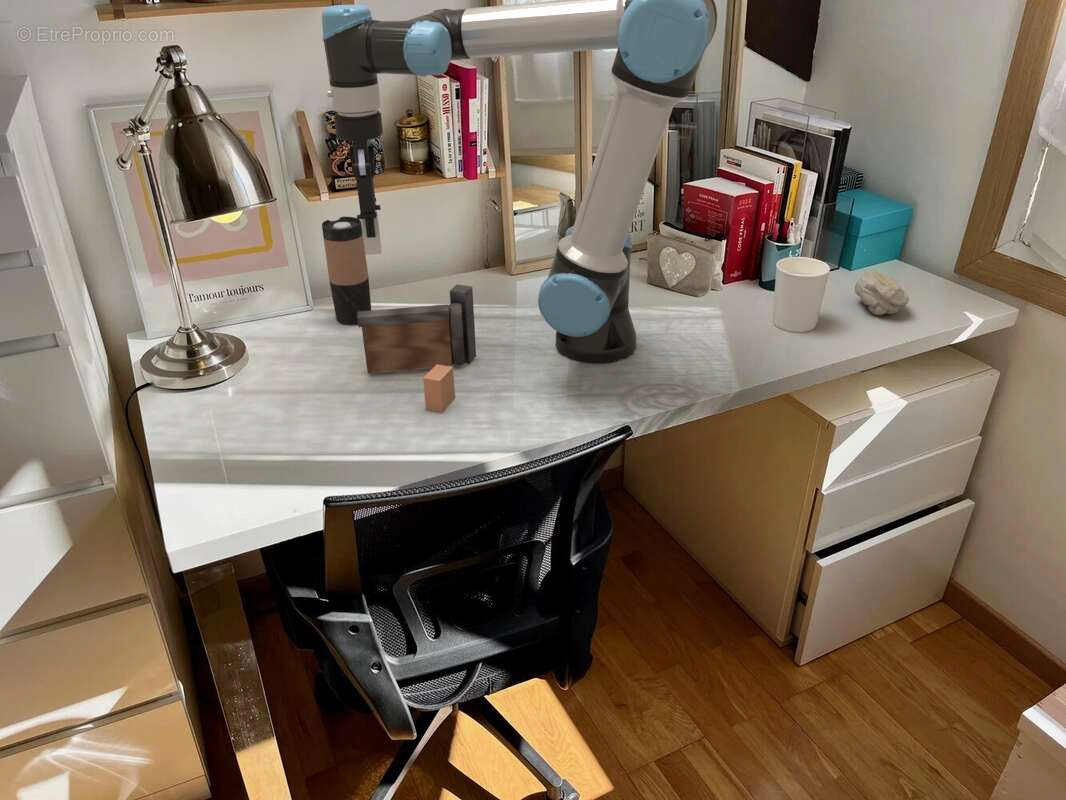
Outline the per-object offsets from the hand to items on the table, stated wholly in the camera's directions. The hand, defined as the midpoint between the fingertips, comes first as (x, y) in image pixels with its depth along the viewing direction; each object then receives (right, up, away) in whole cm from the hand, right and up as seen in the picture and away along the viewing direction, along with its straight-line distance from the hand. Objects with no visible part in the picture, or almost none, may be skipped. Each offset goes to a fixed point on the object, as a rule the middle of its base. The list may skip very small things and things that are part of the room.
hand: (373, 250), depth 149 cm
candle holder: (+79, -11, +19) cm, 82 cm away
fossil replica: (+98, -8, +24) cm, 101 cm away
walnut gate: (+7, -20, +5) cm, 22 cm away
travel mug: (-8, -9, +25) cm, 28 cm away
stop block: (+12, -27, -5) cm, 30 cm away
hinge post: (+15, -18, +8) cm, 25 cm away
